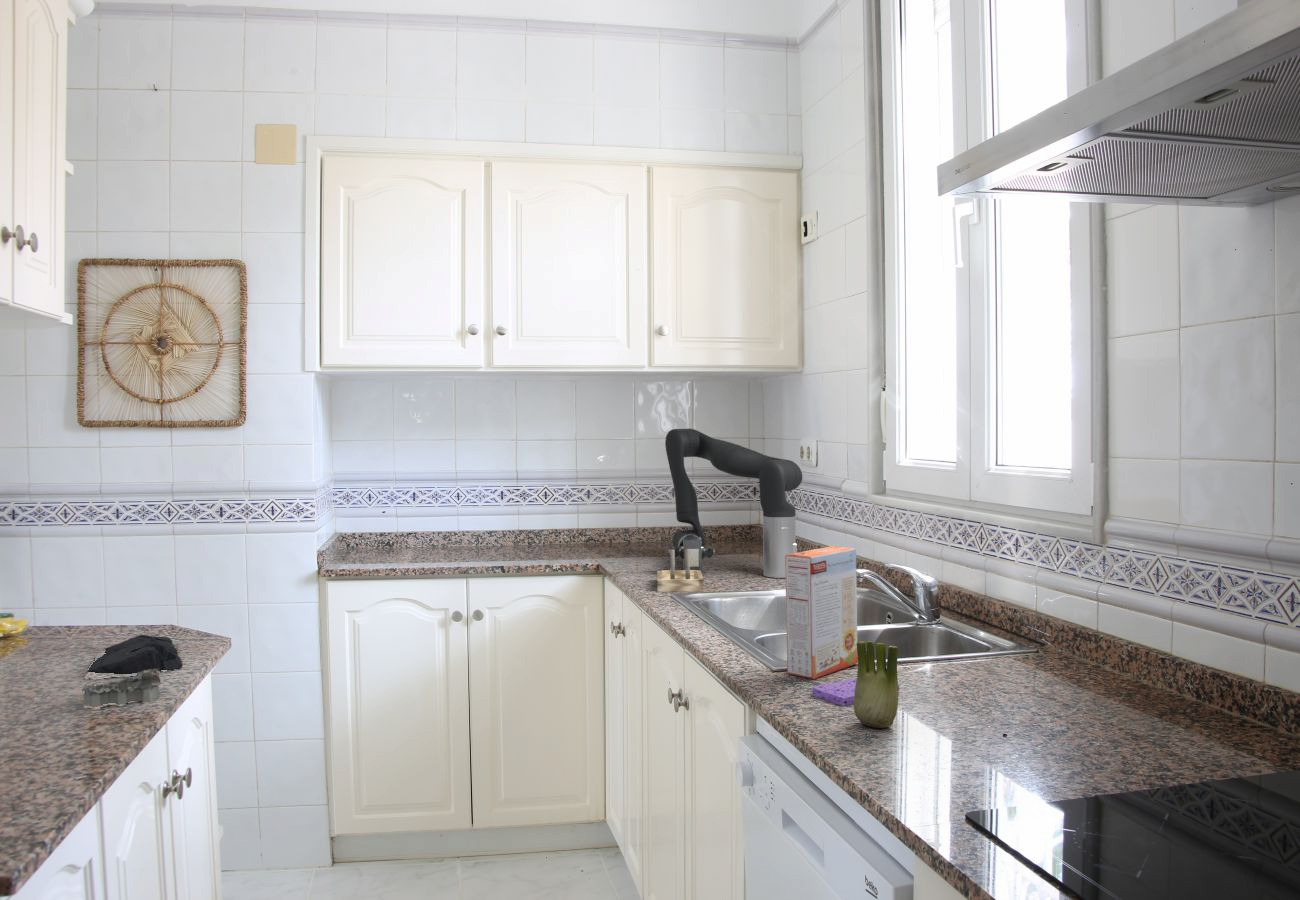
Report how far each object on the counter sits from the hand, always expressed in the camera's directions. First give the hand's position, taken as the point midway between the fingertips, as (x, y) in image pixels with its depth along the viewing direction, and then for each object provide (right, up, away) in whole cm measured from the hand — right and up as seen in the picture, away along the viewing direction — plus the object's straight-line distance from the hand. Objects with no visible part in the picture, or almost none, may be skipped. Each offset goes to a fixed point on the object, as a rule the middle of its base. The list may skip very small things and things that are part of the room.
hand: (692, 555), depth 253 cm
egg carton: (-95, -10, -112) cm, 147 cm away
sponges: (+21, -10, -111) cm, 113 cm away
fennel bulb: (+20, -9, -126) cm, 128 cm away
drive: (0, -7, +3) cm, 7 cm away
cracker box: (+18, -9, -96) cm, 98 cm away
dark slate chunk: (-107, -10, -88) cm, 139 cm away
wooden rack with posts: (-4, -7, -12) cm, 15 cm away
